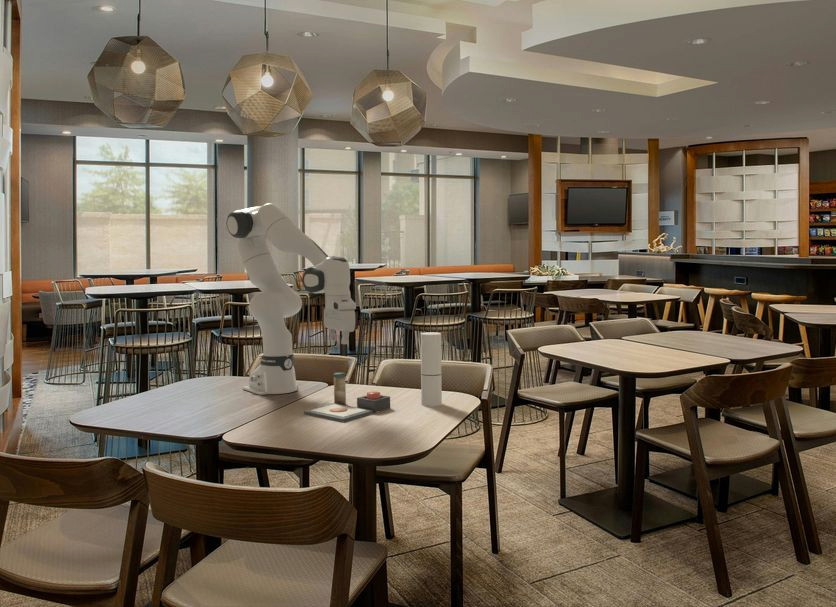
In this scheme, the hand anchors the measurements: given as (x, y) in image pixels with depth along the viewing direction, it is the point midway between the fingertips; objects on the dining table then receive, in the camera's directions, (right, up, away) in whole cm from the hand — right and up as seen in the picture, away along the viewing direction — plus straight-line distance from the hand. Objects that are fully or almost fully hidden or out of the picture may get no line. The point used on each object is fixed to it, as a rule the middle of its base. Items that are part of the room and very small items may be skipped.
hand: (339, 342), depth 232 cm
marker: (0, -22, +2) cm, 22 cm away
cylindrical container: (+32, -22, +1) cm, 39 cm away
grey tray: (+1, -23, -12) cm, 26 cm away
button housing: (+12, -22, -5) cm, 26 cm away
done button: (+12, -20, -5) cm, 24 cm away
